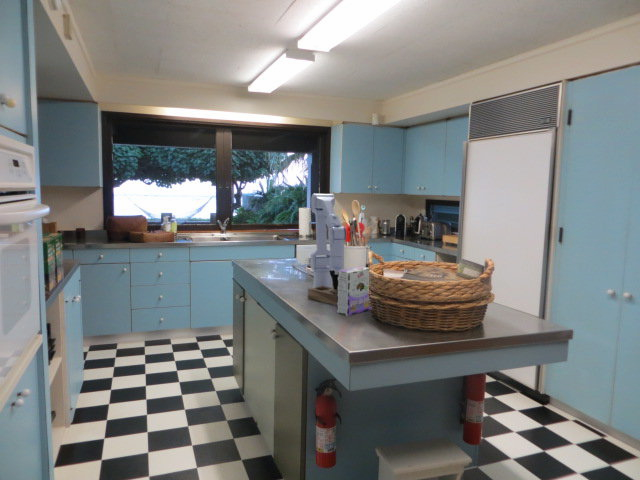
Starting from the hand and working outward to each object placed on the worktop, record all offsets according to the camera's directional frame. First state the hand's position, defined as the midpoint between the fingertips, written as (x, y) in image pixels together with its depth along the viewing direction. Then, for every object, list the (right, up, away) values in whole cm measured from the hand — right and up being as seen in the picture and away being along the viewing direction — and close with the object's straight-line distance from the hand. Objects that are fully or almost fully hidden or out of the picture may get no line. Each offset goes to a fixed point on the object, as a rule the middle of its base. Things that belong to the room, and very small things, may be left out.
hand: (336, 288), depth 191 cm
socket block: (-3, -5, +3) cm, 7 cm away
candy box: (+7, -8, -14) cm, 17 cm away
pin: (0, -2, 0) cm, 3 cm away
